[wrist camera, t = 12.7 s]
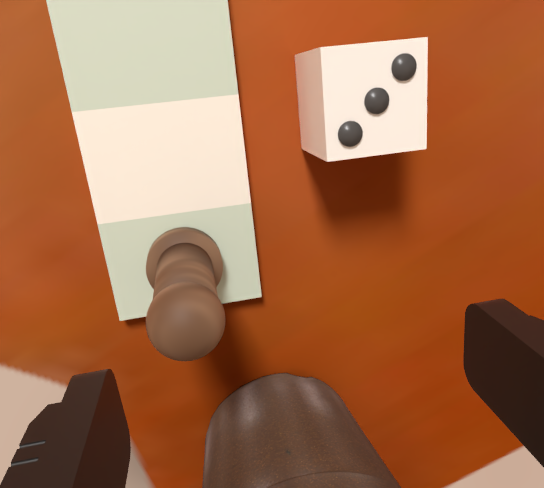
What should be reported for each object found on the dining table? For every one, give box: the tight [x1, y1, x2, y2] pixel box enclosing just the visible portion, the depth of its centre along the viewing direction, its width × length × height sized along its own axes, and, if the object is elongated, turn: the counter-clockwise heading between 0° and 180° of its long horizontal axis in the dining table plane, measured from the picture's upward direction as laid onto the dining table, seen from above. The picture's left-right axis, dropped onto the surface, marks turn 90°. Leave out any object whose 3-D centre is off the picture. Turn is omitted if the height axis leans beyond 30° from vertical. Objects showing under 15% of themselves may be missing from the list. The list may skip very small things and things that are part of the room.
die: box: [295, 37, 428, 162], centre depth 29 cm, size 6×6×6 cm
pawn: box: [146, 227, 225, 361], centre depth 27 cm, size 5×5×11 cm
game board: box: [46, 0, 262, 321], centre depth 29 cm, size 10×28×1 cm, turn 6°
